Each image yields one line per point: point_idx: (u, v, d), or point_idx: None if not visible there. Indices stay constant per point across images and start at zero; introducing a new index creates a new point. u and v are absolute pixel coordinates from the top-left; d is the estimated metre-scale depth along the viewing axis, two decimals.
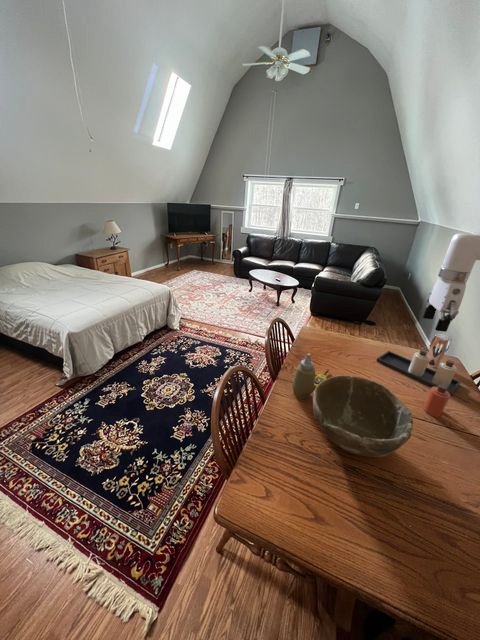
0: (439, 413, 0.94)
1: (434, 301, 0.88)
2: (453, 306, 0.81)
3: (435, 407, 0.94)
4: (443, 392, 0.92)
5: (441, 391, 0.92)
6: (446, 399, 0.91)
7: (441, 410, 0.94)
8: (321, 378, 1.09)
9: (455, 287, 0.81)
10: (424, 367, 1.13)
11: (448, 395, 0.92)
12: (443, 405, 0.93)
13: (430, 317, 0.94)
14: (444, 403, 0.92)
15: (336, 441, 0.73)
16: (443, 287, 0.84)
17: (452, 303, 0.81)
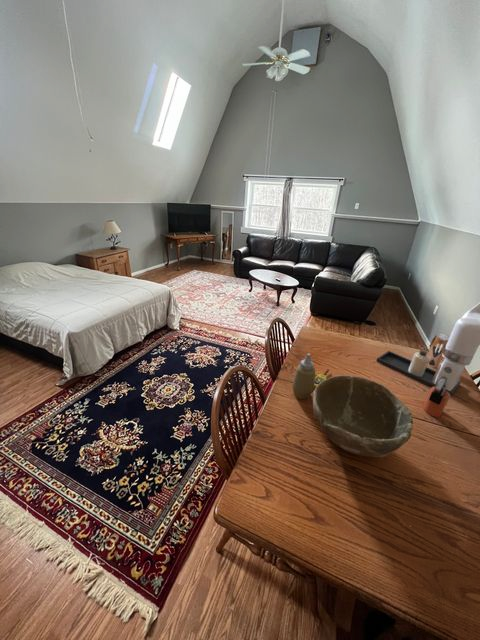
0: (439, 413, 0.94)
1: None
2: (439, 383, 0.88)
3: (435, 407, 0.94)
4: None
5: None
6: (446, 399, 0.91)
7: (441, 410, 0.94)
8: (321, 378, 1.09)
9: (447, 365, 0.86)
10: (424, 367, 1.13)
11: (448, 395, 0.92)
12: (443, 405, 0.93)
13: None
14: (444, 403, 0.92)
15: (336, 441, 0.73)
16: (442, 363, 0.89)
17: (441, 380, 0.88)
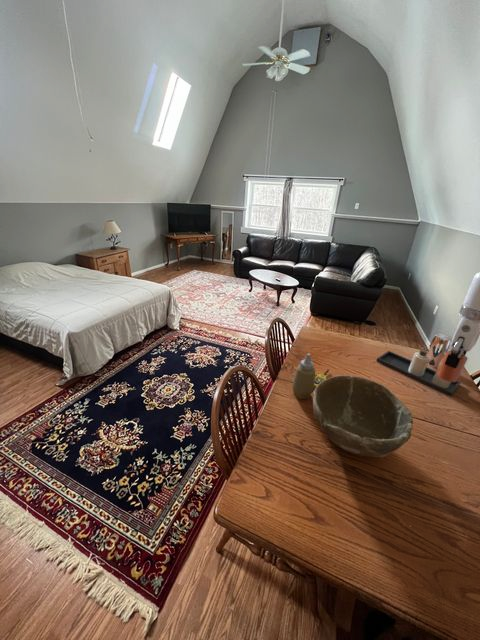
0: (455, 378, 0.88)
1: None
2: (456, 344, 0.82)
3: (451, 372, 0.88)
4: None
5: None
6: (463, 362, 0.86)
7: (458, 375, 0.88)
8: (321, 378, 1.09)
9: (465, 323, 0.80)
10: (424, 367, 1.13)
11: (465, 358, 0.86)
12: (460, 369, 0.87)
13: None
14: (461, 367, 0.86)
15: (336, 441, 0.73)
16: None
17: (458, 340, 0.82)
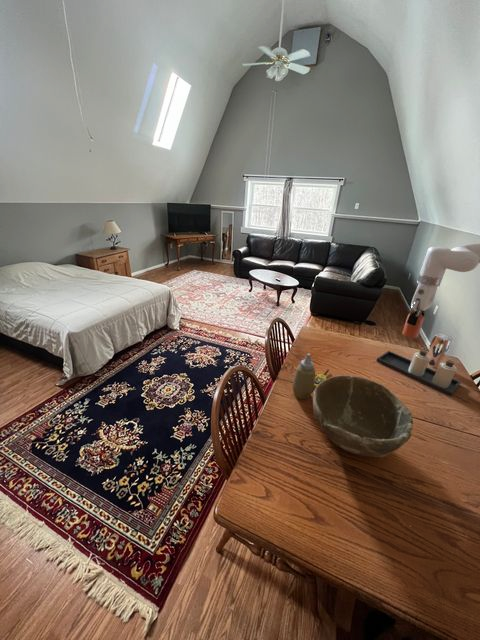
0: (415, 334, 1.10)
1: None
2: (414, 304, 1.03)
3: (412, 329, 1.09)
4: (418, 315, 1.08)
5: None
6: (421, 320, 1.07)
7: (417, 331, 1.09)
8: (321, 378, 1.09)
9: (420, 288, 1.02)
10: (424, 367, 1.13)
11: (422, 318, 1.08)
12: (418, 326, 1.08)
13: None
14: (419, 324, 1.08)
15: (336, 441, 0.73)
16: None
17: (416, 302, 1.03)
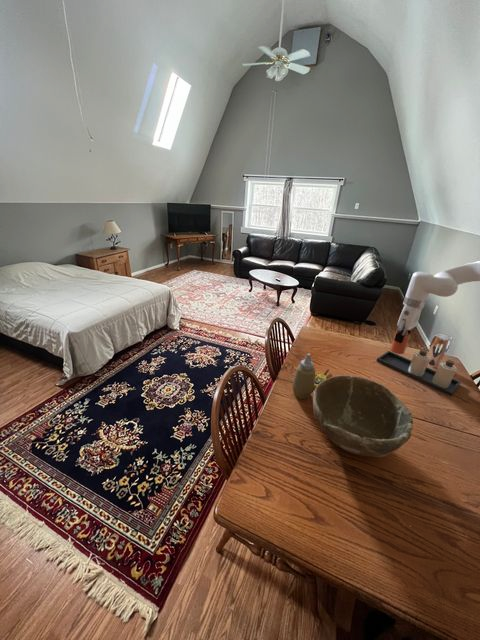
0: (402, 351, 1.18)
1: None
2: (400, 324, 1.12)
3: (398, 346, 1.18)
4: (404, 333, 1.16)
5: None
6: (407, 338, 1.16)
7: (403, 348, 1.18)
8: (321, 378, 1.09)
9: (406, 309, 1.10)
10: (424, 367, 1.13)
11: (408, 336, 1.16)
12: (405, 344, 1.17)
13: None
14: (405, 342, 1.16)
15: (336, 441, 0.73)
16: None
17: (402, 322, 1.12)
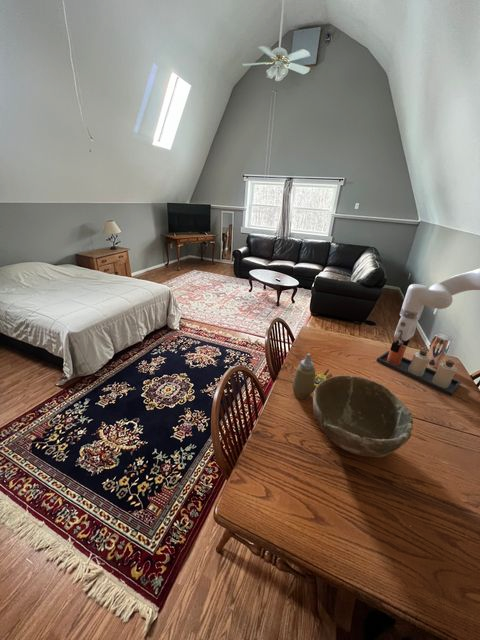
0: (398, 363, 1.21)
1: None
2: (397, 333, 1.13)
3: (394, 358, 1.21)
4: (400, 346, 1.19)
5: None
6: (402, 351, 1.18)
7: (399, 360, 1.21)
8: (321, 378, 1.09)
9: (402, 321, 1.12)
10: (424, 367, 1.13)
11: (404, 348, 1.19)
12: (400, 356, 1.19)
13: (404, 344, 1.23)
14: (401, 354, 1.19)
15: (336, 441, 0.73)
16: None
17: (398, 331, 1.14)
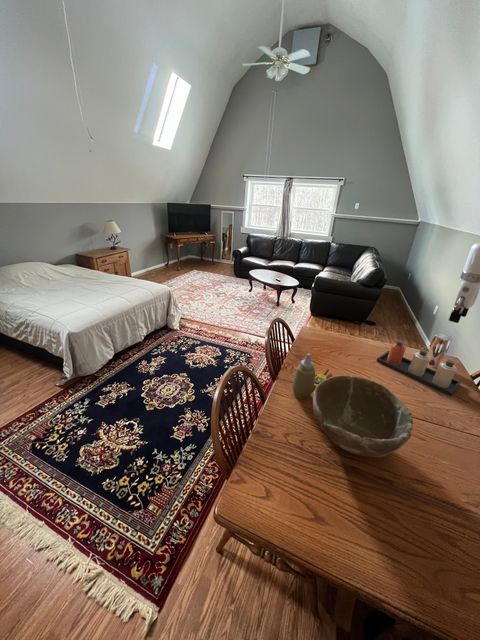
0: (398, 363, 1.21)
1: None
2: (458, 300, 1.01)
3: (394, 358, 1.21)
4: (400, 346, 1.19)
5: (399, 345, 1.19)
6: (402, 351, 1.18)
7: (399, 360, 1.21)
8: (321, 378, 1.09)
9: (465, 285, 1.00)
10: (424, 367, 1.13)
11: (404, 348, 1.19)
12: (400, 356, 1.19)
13: (462, 315, 1.10)
14: (401, 354, 1.19)
15: (336, 441, 0.73)
16: None
17: (460, 298, 1.01)
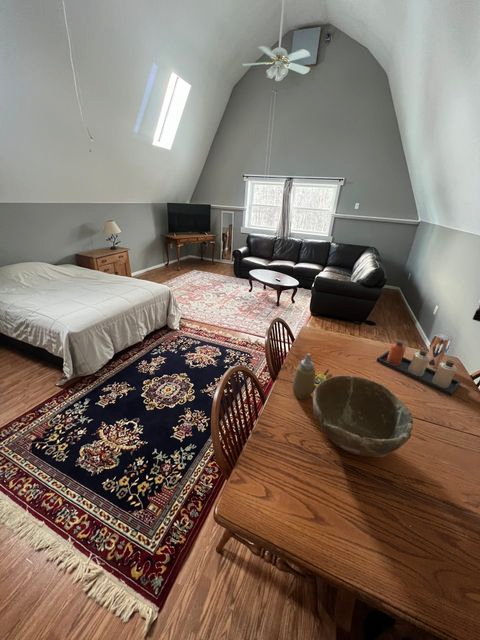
0: (398, 363, 1.21)
1: None
2: None
3: (394, 358, 1.21)
4: (400, 346, 1.19)
5: (399, 345, 1.19)
6: (402, 351, 1.18)
7: (399, 360, 1.21)
8: (321, 378, 1.09)
9: None
10: (424, 367, 1.13)
11: (404, 348, 1.19)
12: (400, 356, 1.19)
13: None
14: (401, 354, 1.19)
15: (336, 441, 0.73)
16: None
17: None
